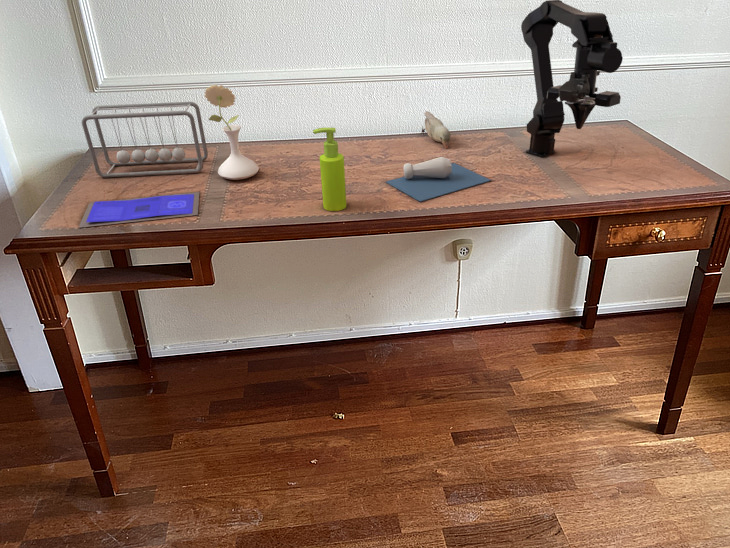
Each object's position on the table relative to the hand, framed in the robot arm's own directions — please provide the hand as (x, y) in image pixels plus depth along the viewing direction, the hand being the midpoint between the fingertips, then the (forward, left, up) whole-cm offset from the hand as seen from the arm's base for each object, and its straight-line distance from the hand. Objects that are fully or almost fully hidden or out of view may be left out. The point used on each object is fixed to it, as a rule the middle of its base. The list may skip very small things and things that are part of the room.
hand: (578, 128), depth 163 cm
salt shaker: (-21, -27, -9) cm, 36 cm away
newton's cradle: (-88, -82, -13) cm, 121 cm away
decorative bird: (-45, -7, -13) cm, 48 cm away
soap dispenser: (-30, -62, -13) cm, 70 cm away
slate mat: (-22, -31, -12) cm, 40 cm away
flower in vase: (-66, -68, -13) cm, 96 cm away
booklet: (-64, -97, -12) cm, 117 cm away
